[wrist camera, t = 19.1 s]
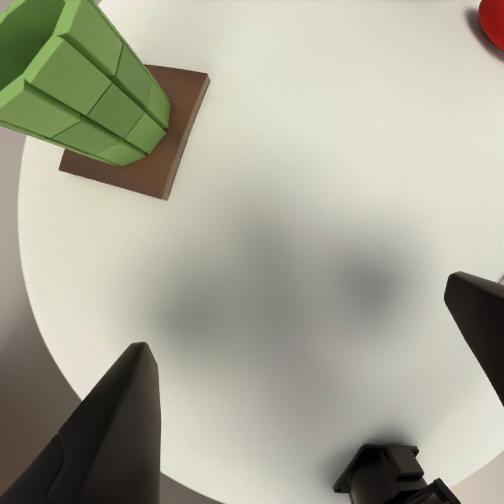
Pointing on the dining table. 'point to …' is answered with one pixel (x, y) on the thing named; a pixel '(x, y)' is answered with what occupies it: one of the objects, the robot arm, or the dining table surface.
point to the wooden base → (166, 151)
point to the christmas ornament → (493, 21)
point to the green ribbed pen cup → (77, 82)
